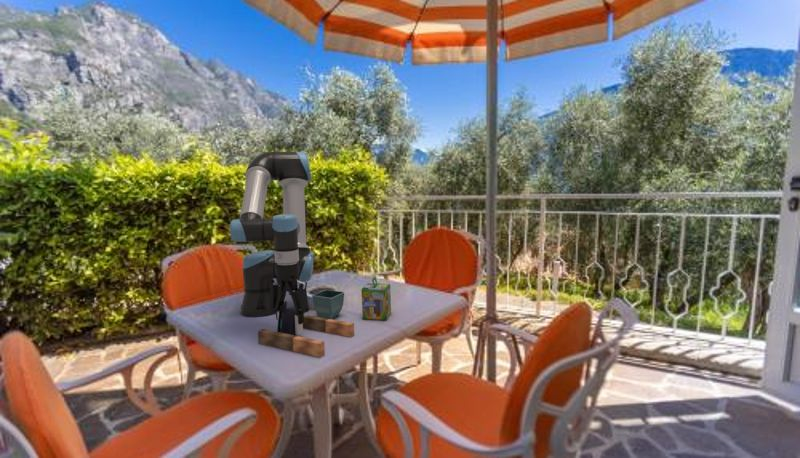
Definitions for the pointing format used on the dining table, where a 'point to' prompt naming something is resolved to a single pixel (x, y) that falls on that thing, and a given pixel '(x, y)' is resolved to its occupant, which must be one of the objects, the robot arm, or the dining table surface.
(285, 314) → the speaker
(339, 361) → the dining table surface
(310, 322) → the channel
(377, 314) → the chalk box
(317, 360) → the dining table surface
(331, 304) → the flower pot
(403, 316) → the dining table surface
